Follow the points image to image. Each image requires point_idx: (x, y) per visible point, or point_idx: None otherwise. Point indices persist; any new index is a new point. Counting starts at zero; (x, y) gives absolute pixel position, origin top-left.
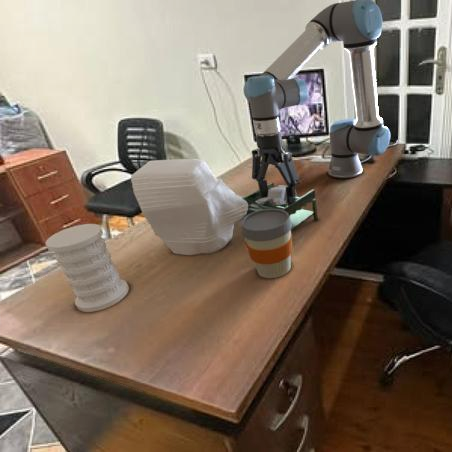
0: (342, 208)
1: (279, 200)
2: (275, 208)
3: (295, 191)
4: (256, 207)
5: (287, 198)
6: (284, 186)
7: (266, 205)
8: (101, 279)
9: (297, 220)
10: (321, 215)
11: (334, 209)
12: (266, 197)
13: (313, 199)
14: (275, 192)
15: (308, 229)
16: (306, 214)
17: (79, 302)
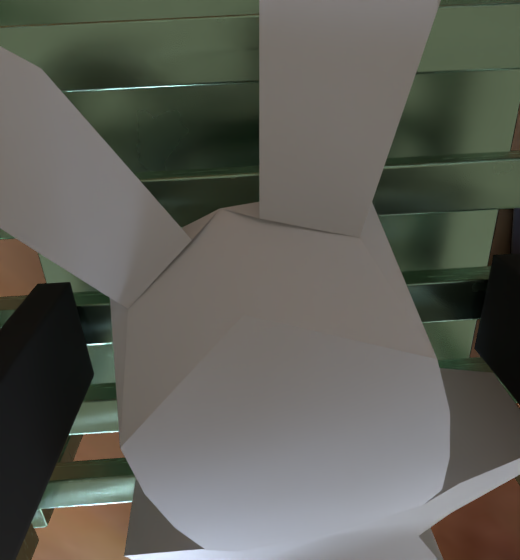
0: (70, 534)
1: None
2: (210, 174)
3: (132, 547)
4: (507, 60)
5: (15, 354)
6: None
7: (397, 188)
8: None
9: None
10: (112, 432)
11: (102, 511)
12: (364, 182)
13: (34, 519)
14: (223, 360)
15: (26, 251)
16: (110, 369)
17: None
